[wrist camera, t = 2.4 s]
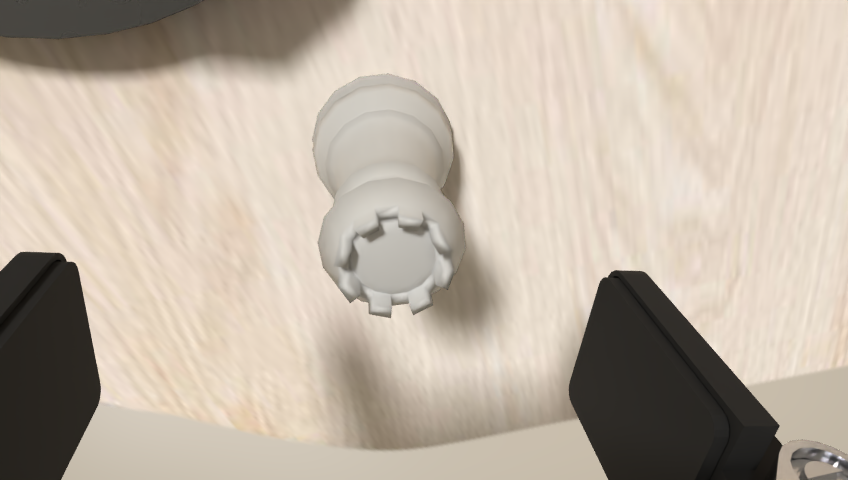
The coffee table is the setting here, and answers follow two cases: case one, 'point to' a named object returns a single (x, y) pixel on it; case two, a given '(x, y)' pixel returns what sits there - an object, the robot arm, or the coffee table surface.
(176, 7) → the carrier plate
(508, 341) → the coffee table surface
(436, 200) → the rook chess piece
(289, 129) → the coffee table surface
